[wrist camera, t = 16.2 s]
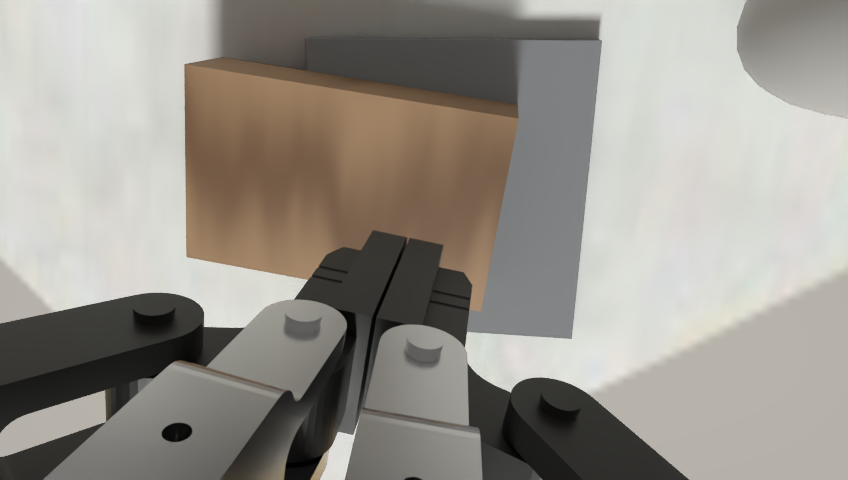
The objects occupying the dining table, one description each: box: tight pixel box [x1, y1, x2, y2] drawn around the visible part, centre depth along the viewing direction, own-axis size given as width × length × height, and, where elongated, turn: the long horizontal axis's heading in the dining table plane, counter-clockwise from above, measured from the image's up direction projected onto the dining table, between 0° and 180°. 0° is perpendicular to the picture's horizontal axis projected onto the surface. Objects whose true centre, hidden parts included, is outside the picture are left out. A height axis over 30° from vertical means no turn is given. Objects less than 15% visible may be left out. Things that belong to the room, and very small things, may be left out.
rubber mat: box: [305, 38, 602, 339], centre depth 20 cm, size 9×10×1 cm
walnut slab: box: [184, 57, 519, 312], centre depth 19 cm, size 6×2×10 cm
